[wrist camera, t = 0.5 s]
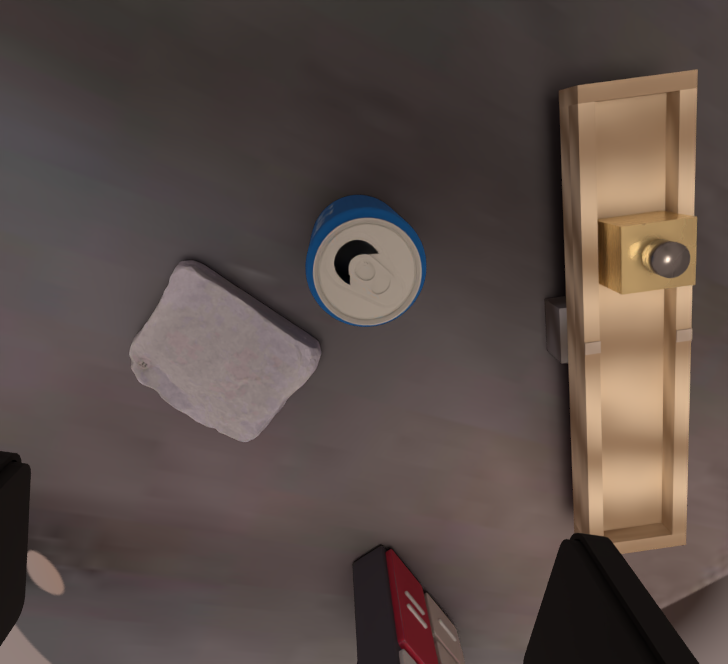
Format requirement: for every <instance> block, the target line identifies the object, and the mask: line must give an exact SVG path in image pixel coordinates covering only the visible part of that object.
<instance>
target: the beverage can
mask: <svg viewBox="0 0 728 664" xmlns="http://www.w3.org/2000/svg"><path fill="white" fill-rule="evenodd" d="M425 276H426V256H425V252H424V248H423V245H422V243H421V241H420V239H419V237H418V235H417V234H416V232H415V231H414V229H413V228H412V227H411V226H410V225H409V224H408V223H407V222H406V221H405V220H404V219H403V218H402V217H400V216H399V215H398V214H397V213H396V212H395V211H394V210H393V209H392V208H390V207H389V206H388V205H387V204H385V203H384V202H382V201H381V200H379V199H376V198H374V197H370V196H366V195H351V196H346V197H343V198H340V199H338V200H336V201H334V202H333V203H331V204H330V205H329V206H327V207H326V208H325V209H324V210H323V211H322V213H321V214H320V215H319V217H318V219H317V220H316V222H315V225H314V227H313V231H312V235H311V240H310V244H309V248H308V252H307V257H306V278H307V282H308V286H309V289H310V291H311V293H312V295H313V297H314V299H315V300H316V302H317V303H318V304H319V305H320V307H321V308H322V309H323V310H324V311H325V312H326V313H328V314H329V315H330V316H332V317H333V318H335V319H337V320H339V321H341V322H343V323H346V324H349V325H353V326H360V327H370V326H378V325H382V324H385V323H388V322H390V321H392V320H394V319H396V318H398V317H399V316H401V315H402V314H403V313H405V312H406V311H407V310H408V309H409V308H410V307H411V306H412V304H413V303H414V302H415V300H416V299H417V297H418V296H419V294H420V292H421V290H422V287H423V284H424V281H425Z"/></svg>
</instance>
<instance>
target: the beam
mask: <svg viewBox="0 0 728 664" xmlns="http://www.w3.org/2000/svg"><path fill="white" fill-rule="evenodd" d="M697 72H698V70H690V71H683V72H675V73H667V74H660V75H652V76H645V77H637V78H630V79H622V80H615V81H607V82H600V83H592V84H584V85H577V86H574V87H570V88H566V89H563V90H559V108H560V136H561V165H562V193H563V222H564V250H565V278H566V296H562V297H555V298H548V299H545V317H546V339H547V351H548V352H549V353H550V354H551V355H553V356H554V357H555V358H556V359H557V360H558V361H559V362H560V363H561V364H562V363H568V364H569V392H570V421H571V449H572V478H573V506H574V534H575V533H584V534H591V535H598V536H605V537H608V538H609V539H610V540H611V541H612V542H613V544H614V545H615V546H616V548H617V549H618V551H619V552H620V553H621V554H624V553H631V552H638V551H645V550H652V549H659V548H665V547H672V546H679V545H686V520H687V479H688V438H689V398H690V357H691V340H692V328H691V316H692V285H689V286H682V287H675V288H668V289H660V290H653V291H646V292H638V293H631V294H624V295H621V294H619V293H617V292H615V291H613V290H611V289H609V288H607V287H605V286H603V285H601V284H599V275H598V224H597V219H602V218H609V217H616V216H624V215H631V214H638V213H646V212H653V211H660V210H661V211H667V212H673V213H679V214H685V215H691V216H694V194H695V154H696V113H697Z"/></svg>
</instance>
